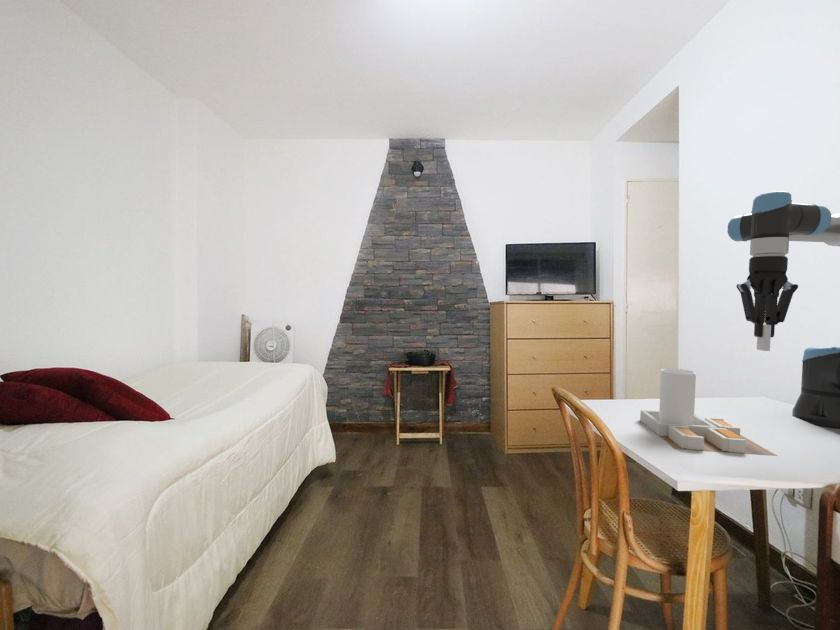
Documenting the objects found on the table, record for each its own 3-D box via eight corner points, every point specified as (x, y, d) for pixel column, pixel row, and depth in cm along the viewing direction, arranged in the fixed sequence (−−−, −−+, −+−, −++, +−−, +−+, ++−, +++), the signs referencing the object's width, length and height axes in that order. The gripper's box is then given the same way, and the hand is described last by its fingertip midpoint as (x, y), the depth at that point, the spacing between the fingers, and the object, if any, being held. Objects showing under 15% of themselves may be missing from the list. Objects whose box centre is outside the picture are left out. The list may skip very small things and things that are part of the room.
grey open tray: (724, 440, 111) (725, 428, 111) (745, 452, 102) (745, 440, 102) (705, 438, 111) (706, 427, 111) (724, 451, 103) (724, 438, 102)
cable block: (728, 442, 109) (729, 430, 109) (742, 450, 103) (743, 438, 103) (715, 441, 110) (716, 429, 110) (728, 449, 104) (729, 437, 104)
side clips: (721, 429, 120) (721, 418, 120) (764, 454, 101) (764, 441, 101) (653, 425, 123) (653, 414, 122) (683, 448, 104) (683, 436, 104)
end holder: (691, 423, 125) (692, 412, 125) (717, 439, 111) (717, 427, 111) (640, 420, 127) (640, 409, 127) (658, 435, 114) (659, 424, 113)
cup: (698, 434, 114) (700, 374, 114) (663, 431, 117) (665, 372, 116) (687, 425, 122) (690, 369, 121) (655, 423, 125) (657, 367, 124)
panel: (722, 428, 124) (722, 424, 124) (777, 460, 100) (777, 455, 100) (640, 424, 127) (640, 420, 127) (674, 453, 104) (674, 448, 104)
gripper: (787, 257, 111) (782, 349, 112) (731, 257, 113) (726, 347, 114) (808, 254, 104) (802, 353, 105) (748, 254, 106) (743, 351, 107)
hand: (763, 350), depth 110 cm, fingers closed
